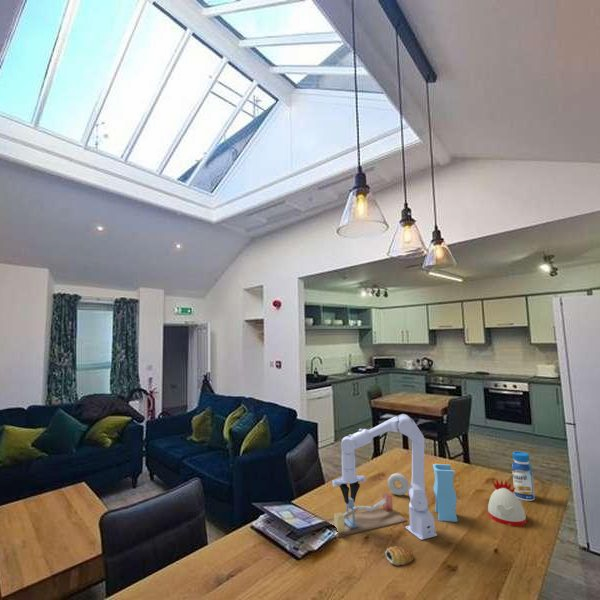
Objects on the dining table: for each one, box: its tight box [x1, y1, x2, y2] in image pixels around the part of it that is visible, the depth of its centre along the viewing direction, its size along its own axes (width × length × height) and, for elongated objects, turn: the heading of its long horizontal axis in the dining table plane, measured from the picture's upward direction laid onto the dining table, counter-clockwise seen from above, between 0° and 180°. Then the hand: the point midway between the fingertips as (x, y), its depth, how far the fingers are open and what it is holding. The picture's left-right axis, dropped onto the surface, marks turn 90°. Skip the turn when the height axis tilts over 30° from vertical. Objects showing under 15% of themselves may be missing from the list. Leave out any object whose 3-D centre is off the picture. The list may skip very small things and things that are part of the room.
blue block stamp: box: [344, 497, 359, 529], centre depth 141 cm, size 4×6×10 cm, turn 20°
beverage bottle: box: [511, 451, 536, 502], centre depth 164 cm, size 8×8×20 cm
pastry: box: [384, 545, 415, 566], centre depth 119 cm, size 9×7×4 cm
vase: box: [432, 463, 458, 523], centre depth 148 cm, size 8×8×20 cm
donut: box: [387, 472, 410, 496], centre depth 169 cm, size 10×4×10 cm, turn 68°
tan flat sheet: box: [324, 507, 408, 539], centre depth 144 cm, size 13×32×1 cm, turn 110°
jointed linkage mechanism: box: [333, 492, 394, 535], centre depth 144 cm, size 5×32×6 cm, turn 123°
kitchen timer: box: [487, 478, 527, 527], centre depth 146 cm, size 14×14×15 cm
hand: (349, 502), depth 142 cm, fingers closed on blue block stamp, 2 cm apart
